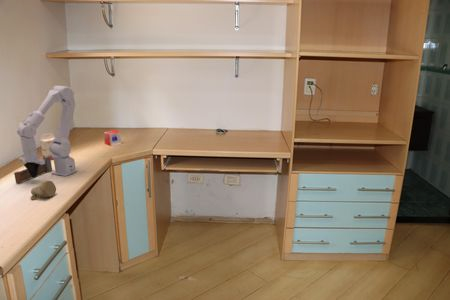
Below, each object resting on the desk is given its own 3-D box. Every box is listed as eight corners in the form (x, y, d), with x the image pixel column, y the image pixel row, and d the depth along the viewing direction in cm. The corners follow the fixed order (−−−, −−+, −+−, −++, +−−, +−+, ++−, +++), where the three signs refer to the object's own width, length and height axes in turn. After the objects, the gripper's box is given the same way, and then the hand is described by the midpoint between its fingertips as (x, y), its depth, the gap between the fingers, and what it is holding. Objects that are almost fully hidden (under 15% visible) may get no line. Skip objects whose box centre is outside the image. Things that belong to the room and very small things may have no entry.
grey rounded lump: (36, 192, 162) (45, 173, 160) (52, 204, 160) (62, 185, 159) (23, 195, 155) (32, 175, 153) (40, 207, 153) (50, 187, 151)
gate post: (52, 170, 189) (50, 156, 187) (48, 172, 186) (46, 158, 184) (48, 170, 190) (46, 156, 188) (44, 171, 187) (42, 157, 185)
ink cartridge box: (47, 161, 204) (43, 136, 200) (43, 159, 207) (38, 134, 203) (61, 157, 210) (58, 133, 206) (57, 156, 213) (54, 131, 209)
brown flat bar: (47, 171, 187) (45, 161, 185) (18, 183, 171) (16, 173, 170) (45, 171, 187) (43, 161, 186) (16, 183, 172) (14, 172, 170)
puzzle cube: (115, 141, 243) (114, 130, 241) (121, 143, 238) (120, 132, 236) (104, 144, 238) (103, 132, 235) (110, 146, 232) (109, 134, 230)
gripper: (11, 150, 169) (16, 177, 173) (34, 153, 164) (38, 181, 168) (23, 146, 175) (28, 173, 179) (46, 149, 170) (50, 176, 174)
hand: (34, 176), depth 174 cm, fingers closed
